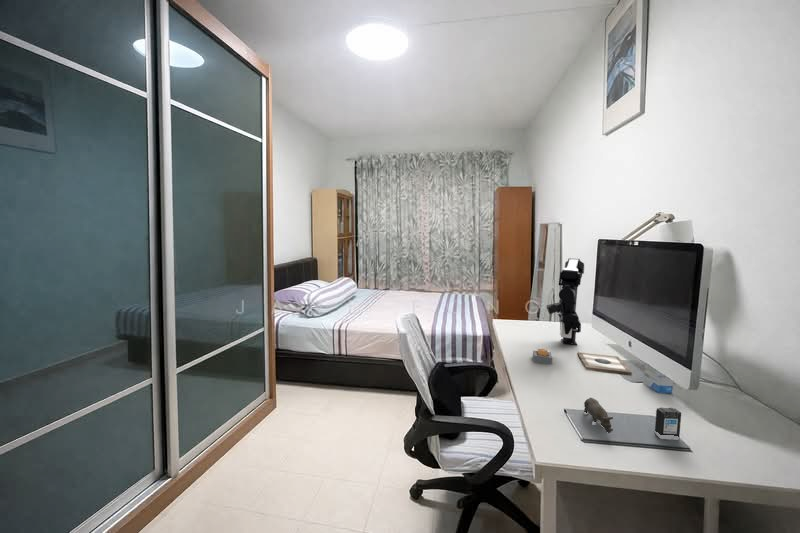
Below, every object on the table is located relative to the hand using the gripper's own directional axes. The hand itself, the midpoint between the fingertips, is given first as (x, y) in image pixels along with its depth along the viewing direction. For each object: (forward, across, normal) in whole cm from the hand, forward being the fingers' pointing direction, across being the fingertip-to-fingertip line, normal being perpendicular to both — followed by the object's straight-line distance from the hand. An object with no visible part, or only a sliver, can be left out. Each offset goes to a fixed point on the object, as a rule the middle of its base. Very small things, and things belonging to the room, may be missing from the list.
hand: (565, 332), depth 153 cm
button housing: (+10, +10, -10) cm, 17 cm away
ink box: (+11, +24, +27) cm, 38 cm away
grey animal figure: (+11, +58, +1) cm, 59 cm away
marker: (+2, 0, 0) cm, 2 cm away
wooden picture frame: (+10, +5, +14) cm, 18 cm away
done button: (+9, +10, -10) cm, 17 cm away
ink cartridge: (+11, +59, +17) cm, 62 cm away
